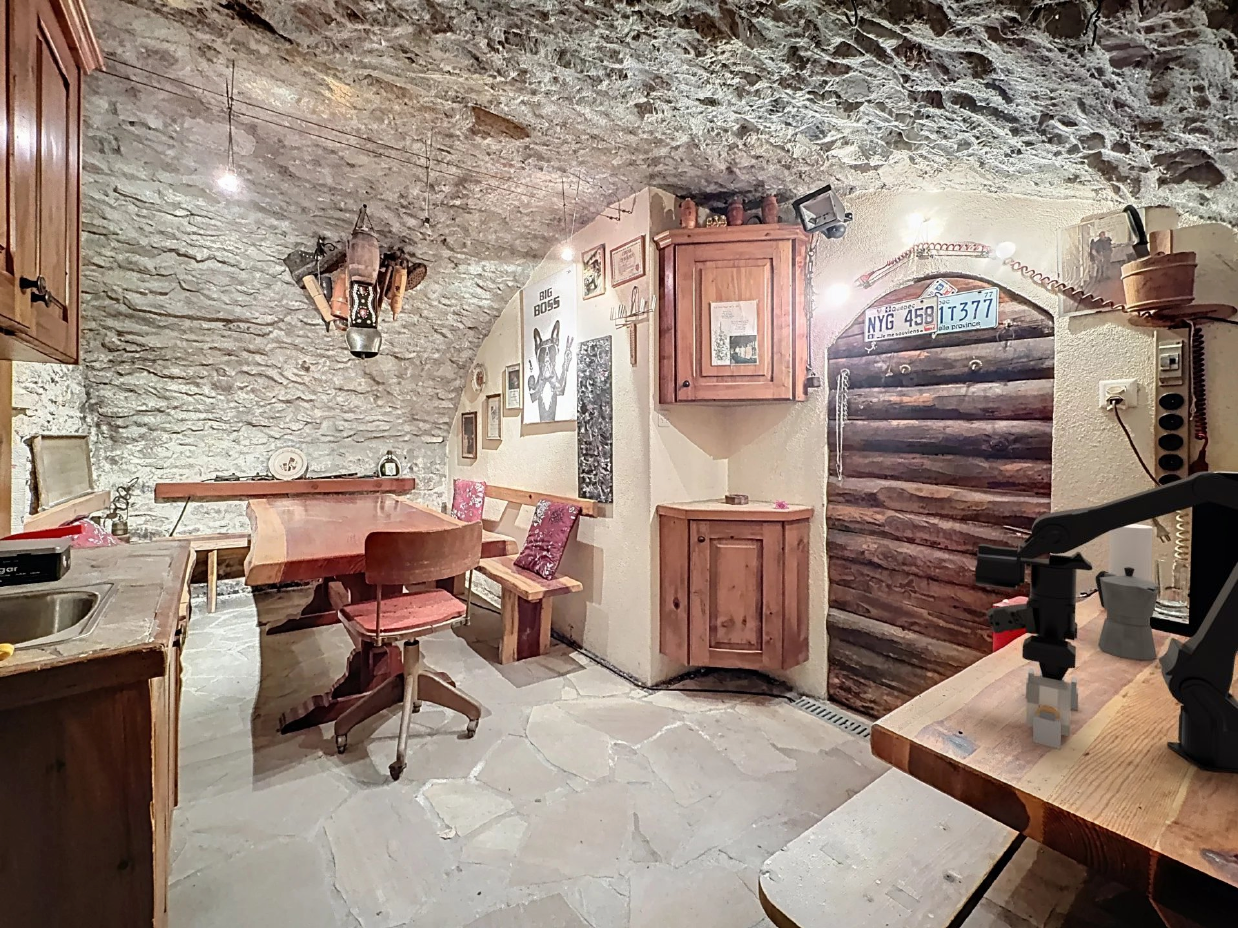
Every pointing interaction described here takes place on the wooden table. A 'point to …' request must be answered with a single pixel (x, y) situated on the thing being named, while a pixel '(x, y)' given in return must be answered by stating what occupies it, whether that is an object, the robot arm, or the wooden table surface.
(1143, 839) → the wooden table surface
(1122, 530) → the cylindrical container
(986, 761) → the wooden table surface
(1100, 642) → the coffeepot
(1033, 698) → the sleeve
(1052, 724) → the cord rig
